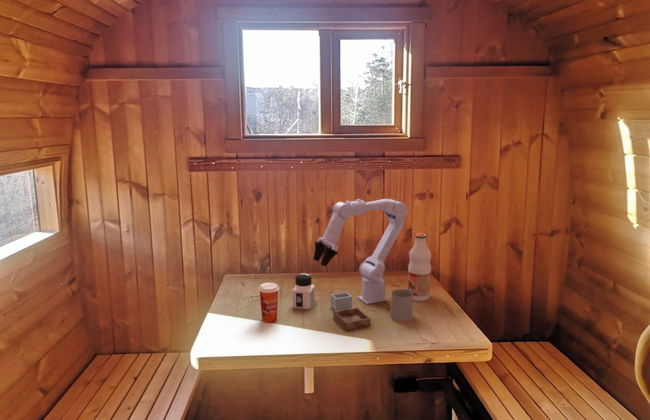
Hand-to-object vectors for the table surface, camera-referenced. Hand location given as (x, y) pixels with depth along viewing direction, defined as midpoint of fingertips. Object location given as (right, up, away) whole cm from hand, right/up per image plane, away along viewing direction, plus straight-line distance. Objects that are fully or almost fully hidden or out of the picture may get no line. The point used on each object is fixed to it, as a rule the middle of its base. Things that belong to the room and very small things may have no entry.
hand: (319, 262), depth 196 cm
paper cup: (-19, -22, -3) cm, 29 cm away
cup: (+32, -21, -1) cm, 39 cm away
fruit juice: (+42, -17, +18) cm, 49 cm away
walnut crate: (+12, -22, -6) cm, 26 cm away
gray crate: (+9, -19, +7) cm, 22 cm away
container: (-7, -19, +10) cm, 22 cm away
